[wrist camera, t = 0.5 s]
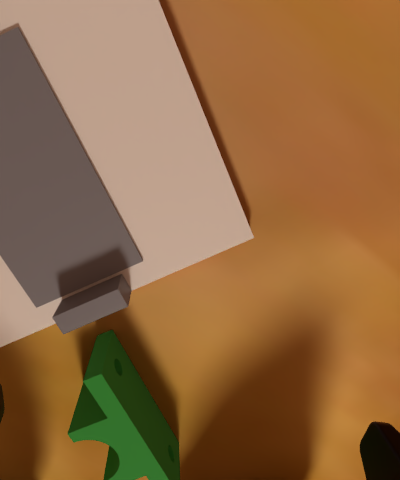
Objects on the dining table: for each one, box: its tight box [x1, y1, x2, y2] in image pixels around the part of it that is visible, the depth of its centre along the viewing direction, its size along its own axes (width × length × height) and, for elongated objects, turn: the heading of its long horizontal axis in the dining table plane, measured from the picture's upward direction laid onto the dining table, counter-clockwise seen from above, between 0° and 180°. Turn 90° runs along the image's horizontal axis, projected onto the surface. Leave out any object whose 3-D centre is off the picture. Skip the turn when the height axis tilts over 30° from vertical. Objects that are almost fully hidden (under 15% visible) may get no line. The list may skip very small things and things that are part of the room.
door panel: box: [0, 0, 254, 347], centre depth 19 cm, size 20×18×3 cm
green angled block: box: [68, 330, 180, 480], centre depth 24 cm, size 11×4×5 cm, turn 22°
